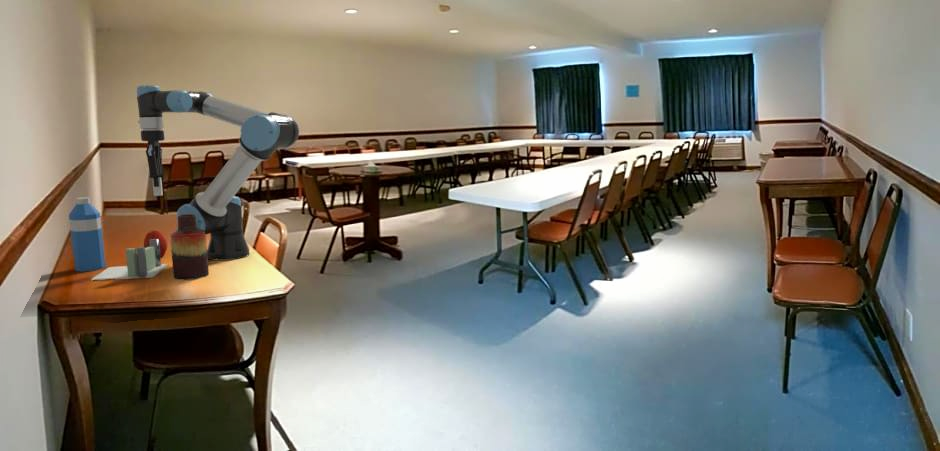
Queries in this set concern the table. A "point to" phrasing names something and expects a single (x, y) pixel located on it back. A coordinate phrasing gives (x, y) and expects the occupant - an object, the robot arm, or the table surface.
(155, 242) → the hinge post
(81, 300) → the table surface
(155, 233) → the apple
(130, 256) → the gate
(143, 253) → the stop post
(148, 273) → the board
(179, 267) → the vase
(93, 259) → the water bottle
